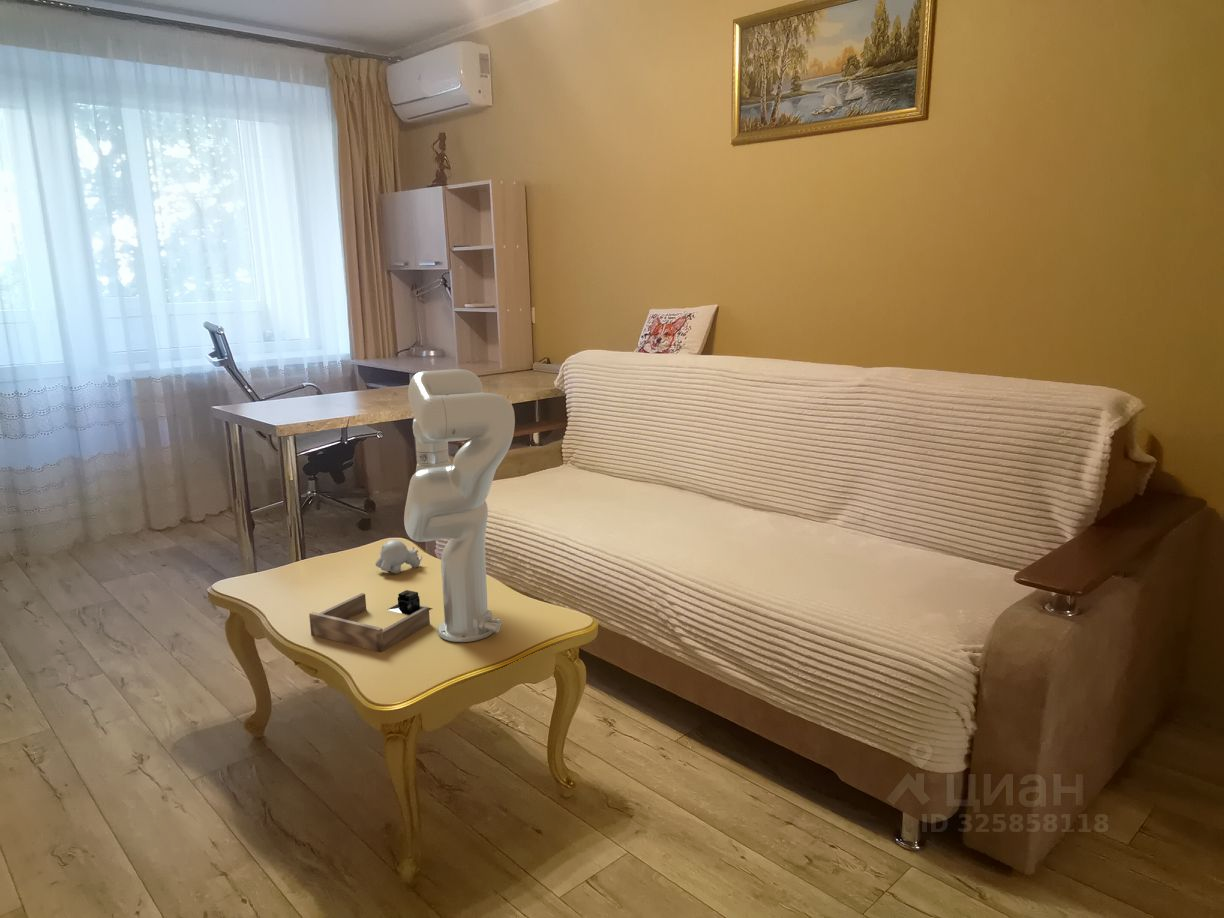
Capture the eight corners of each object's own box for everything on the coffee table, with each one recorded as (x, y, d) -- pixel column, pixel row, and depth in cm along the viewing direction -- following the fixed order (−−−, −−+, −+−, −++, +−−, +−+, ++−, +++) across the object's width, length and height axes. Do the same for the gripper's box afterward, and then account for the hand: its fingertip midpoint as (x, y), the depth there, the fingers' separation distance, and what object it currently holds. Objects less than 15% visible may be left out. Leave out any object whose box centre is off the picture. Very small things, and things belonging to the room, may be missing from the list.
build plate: (379, 612, 191) (377, 594, 190) (400, 601, 197) (398, 584, 196) (419, 621, 185) (418, 602, 184) (440, 610, 192) (439, 591, 191)
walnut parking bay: (429, 623, 183) (428, 603, 182) (380, 652, 169) (378, 629, 168) (363, 608, 191) (361, 589, 190) (311, 634, 177) (309, 613, 176)
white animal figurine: (421, 580, 217) (431, 550, 217) (380, 572, 210) (390, 541, 210) (412, 572, 223) (421, 542, 223) (371, 564, 216) (381, 534, 216)
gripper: (424, 464, 186) (429, 540, 190) (464, 452, 199) (467, 523, 203) (399, 461, 189) (404, 535, 193) (439, 449, 202) (443, 519, 206)
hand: (436, 529), depth 198 cm, fingers closed
